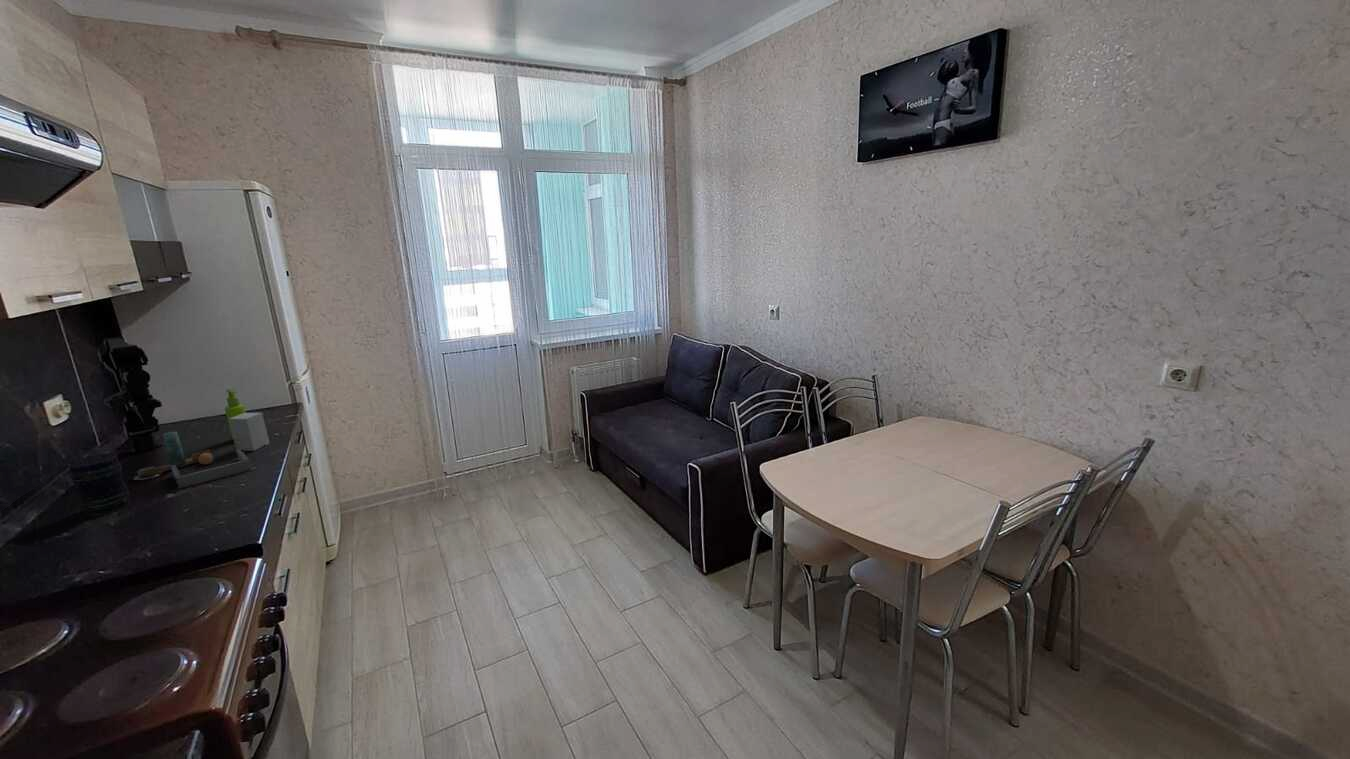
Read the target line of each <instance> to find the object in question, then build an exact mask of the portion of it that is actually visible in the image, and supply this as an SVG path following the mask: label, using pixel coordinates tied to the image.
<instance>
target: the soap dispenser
mask: <svg viewBox="0 0 1350 759" xmlns="http://www.w3.org/2000/svg"><path fill="white" fill-rule="evenodd" d="M225 391H226V392H227V393H228V394H227V395H228V398H226V400H227V405H228V406H227V407H224V410H225V415H226V419H227V422H228V423H227V424H228V427H229V431H230V435H231V438H232V440H233V435H232V431H231V427H230V423H229V420H228V419H230V418H232V417H235V416H238V415H240V414H243V413H247V412H246V408H245V404H240V400H239V397H238V396H236V395H235V394H238V393H237V390H236V389H235V388H229V389H226V390H225Z"/></svg>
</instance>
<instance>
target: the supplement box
mask: <svg viewBox="0 0 1350 759" xmlns="http://www.w3.org/2000/svg"><path fill="white" fill-rule="evenodd" d="M228 420H229V423H230V427H231V431H232V435H233V439H234V441H233V442H234V446H235V449H236V450H243V451H242V452H254V450H255V451H257V450H259V449H258V448H260V447H262V446H264V445H266V446H268V445H270V444H269V443H270V440H269V435H268V431H267V427H266V423H265V419H264V414H263V412H246V413H243V414H240V415H238V416H235V417H232V418H230V419H227V421H228ZM229 423H228V424H229ZM230 427H229V428H230ZM231 431H230V432H231ZM232 435H231V436H232ZM233 439H232V440H233ZM267 444H268V445H267ZM264 447H265V446H264ZM262 448H263V447H262ZM256 449H257V450H256ZM260 449H261V448H260ZM236 450H235V451H236ZM245 450H246V451H245Z"/></svg>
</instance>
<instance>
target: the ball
mask: <svg viewBox="0 0 1350 759" xmlns="http://www.w3.org/2000/svg"><path fill="white" fill-rule="evenodd" d="M210 453H211V452H210ZM210 453H203V454H201V455H200V456H199V457H198V462H199V464H201V465H209V464H211V463H212V462H213V460H214V456H212V455H213V454H212V453H211V454H212V455H211V454H210Z"/></svg>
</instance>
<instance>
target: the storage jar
mask: <svg viewBox="0 0 1350 759" xmlns="http://www.w3.org/2000/svg"><path fill="white" fill-rule="evenodd" d="M119 461H120V460H119V459H118V454H117V453H115V452H113V453H112V452H111V453H108V452H107V453H106V452H105V453H100V454H94V455H90V456H86V457H82V458H78V459H76V460H73V461H71V462H70V463H68V465H67V466H68V470H69V472H70V477H71V479H72V482H73V484H74V485H75V486H76V490H77V492H78V500H79V504H80V506H81V507H82V510H83V514H84V515H85V516H100V515H105V514H108V513H109V514H110V513H113V512H116V511H118V510H119V511H120V509H124V508H125V506H126V507H128V506H129V505H131V504H132V499H131V498H130V491H129V489H128V485H127V483H125V480H124V478H123V474H122V473H123V469H122V466H121V462H119ZM128 504H129V505H128Z"/></svg>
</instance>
